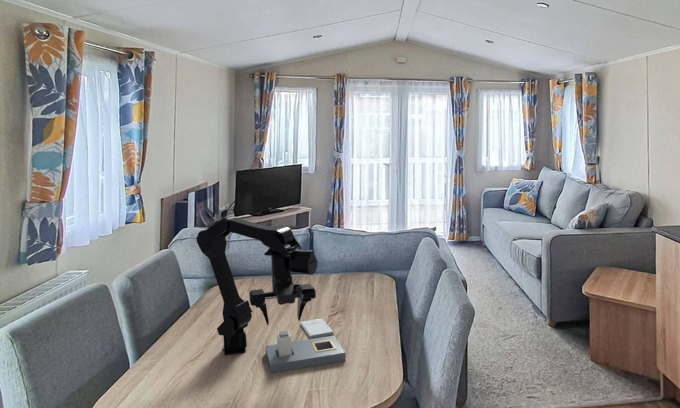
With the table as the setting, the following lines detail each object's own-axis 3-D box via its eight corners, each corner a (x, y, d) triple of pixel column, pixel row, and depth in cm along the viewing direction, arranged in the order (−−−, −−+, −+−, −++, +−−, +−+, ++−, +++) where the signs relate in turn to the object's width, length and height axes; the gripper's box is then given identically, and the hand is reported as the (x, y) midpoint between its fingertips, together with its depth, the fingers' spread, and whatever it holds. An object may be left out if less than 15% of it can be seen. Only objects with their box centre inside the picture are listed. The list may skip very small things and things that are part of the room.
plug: (279, 364, 125) (278, 336, 124) (278, 358, 128) (276, 331, 127) (292, 362, 126) (291, 334, 125) (289, 356, 129) (288, 329, 128)
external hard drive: (310, 340, 141) (300, 325, 153) (333, 336, 144) (322, 322, 155) (310, 335, 141) (300, 321, 152) (333, 331, 144) (322, 317, 155)
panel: (270, 373, 120) (270, 364, 120) (265, 353, 131) (265, 345, 131) (345, 360, 126) (345, 351, 126) (334, 343, 138) (334, 335, 137)
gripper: (251, 282, 113) (254, 338, 115) (319, 275, 118) (321, 328, 121) (247, 271, 124) (250, 322, 126) (310, 265, 129) (311, 314, 131)
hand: (283, 322), depth 126 cm, fingers open, 9 cm apart
